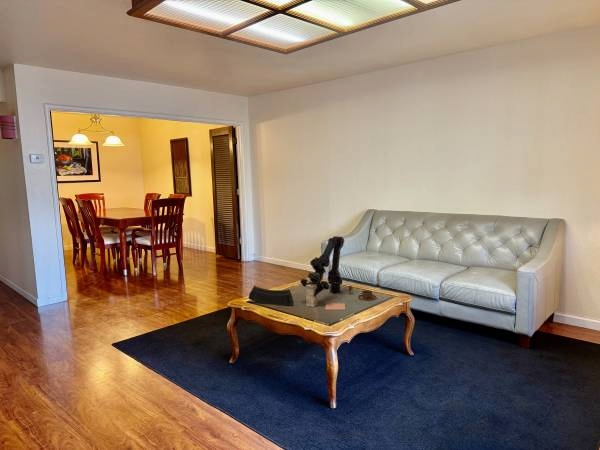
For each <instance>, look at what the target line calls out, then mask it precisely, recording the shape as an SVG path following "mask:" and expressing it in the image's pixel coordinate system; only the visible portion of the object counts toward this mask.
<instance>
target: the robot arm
mask: <svg viewBox="0 0 600 450" xmlns="http://www.w3.org/2000/svg"><path fill="white" fill-rule="evenodd" d="M344 243H345V238H344V237H343V236H338V235H337V236H333V237H329V238H328V240H327V244H326V245H325V248H324V251H323V253H322V254H321V255H320V256H319V257H314V258H313V259H312V260H311V261H310V266H311V267H312V269H313V270H314V272H313V273H312V272H308V276H307V278H308V279H309V280H308V279H307V278H301V279H300V284H301V285H302V287H305V288H306V285H308V284H315V285H317V288H316V291H315V293H314V296H316V295H317V296H318V294H319V293H321V292H323V291H324V290H327V291H328V290H329V292H330V293H331V294H339V293H342V291H341V285H343V279H342V278H341V273H340V270H339V268H340V259H341V249H342V248H343V247H344ZM331 255H332V259H331ZM331 260H332V262H331ZM330 262H331V269H330V270H328V273H327V274H328V275H327V281H325V280H323V276H324V275H325V273H326V272H327V270H326V268H328V267H329V266H330Z"/></svg>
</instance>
